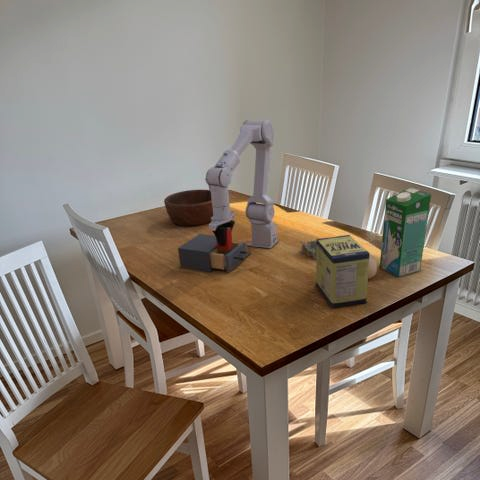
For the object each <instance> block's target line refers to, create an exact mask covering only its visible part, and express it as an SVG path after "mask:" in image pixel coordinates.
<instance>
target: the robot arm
mask: <svg viewBox="0 0 480 480" xmlns="http://www.w3.org/2000/svg"><path fill="white" fill-rule="evenodd" d="M274 130H275V127H274V126H273V123H272V122H271V120H268V119H266V120H254V119H253V120H251V119H250V120H249V119H245V120H244V121H243V122H242V124H241V125H240V127H239V135H238V136H237V138H236V140H235V141H234V143H233V145H232V146H231V148H230V149H226V150H224V151H223V153H222V155H221V157H220V158H219V159H218V161H217V162H216V163H215V165H214V166H212V167H210V168H209V169H208V170H207V171H206V174H205V177H204V178H205V179H204V180H205V183H206V185H207V186H208V190H210V191H211V198H212V207H213V217H211V220H212V221H211V222H209V223H208V231H212V233H213V235H214V236H216V238H217V241H218V244H219V246H225V242H226V231H227V228H228V227H229V228H231V232H233V228H234V226H235V223H236V221H235V220H232V219H233V218H235V217H236V211H233V210H231V207H230V195H229V193H230V192H229V185H230V184H231V182H232V176H233V173H234V171H235V169H236V168H237V167H238V165H239V164H240V162H241V159H240V156H241V155H242V154H243V152H244V151H245V150H246V149H247V148H248V147H249V145H251V146H253V147H254V149H255V159H254V160H255V161H254V163H255V164H254V177H253V178H254V179H253V193H252V195H250V197H248V199H247V202H246V203H247V204H246V206H245V217H246V218H247V219H248V222H249V223H250V228H251V241H250V242H249V243H248V244H247V246H248V247H256V248H263V249H264V248H265V249H272V247H274V246H275V245H276V244H277V243H278V242H279V239H278V226H277V225H278V224H277V223H276V222H274V221H273V219H274V218H275V212H276V211H275V204H274V200H273V199H272V198H271V197H270V196H269V182H270V181H269V180H270V167H271V154H272V146H273V145H274V144H273V143H274V133H275V131H274Z"/></svg>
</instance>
